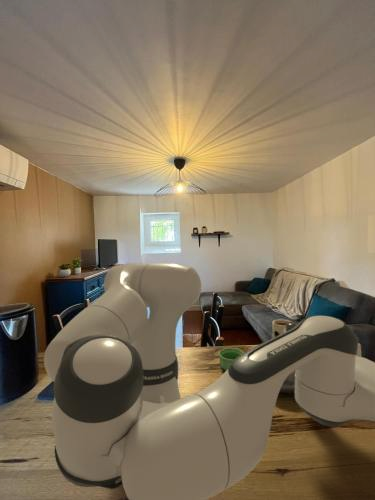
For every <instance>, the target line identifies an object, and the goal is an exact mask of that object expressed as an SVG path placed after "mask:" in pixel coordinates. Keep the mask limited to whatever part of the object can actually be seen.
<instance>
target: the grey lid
mask: <svg viewBox="0 0 375 500" xmlns="http://www.w3.org/2000/svg"><path fill="white" fill-rule="evenodd" d="M279 393H285V394H286V393H287V394H289V393H295V371H294V372H292V373H291V374H289V375H288V377H287V378H286V379H285V381H284V382H283V384H282V386H281V389H280V391H279Z"/></svg>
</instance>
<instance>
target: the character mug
mask: <svg viewBox="0 0 375 500" xmlns="http://www.w3.org/2000/svg"><path fill="white" fill-rule="evenodd" d="M286 322H292V321H291V320H288V319H279V318H278V319H274V320H272V323H271V324H272V326H271V327H272V338H274V337H276V336H278V335H280V334H282V333H283V329H285V328H286Z"/></svg>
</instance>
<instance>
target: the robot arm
mask: <svg viewBox="0 0 375 500" xmlns="http://www.w3.org/2000/svg"><path fill="white" fill-rule="evenodd" d="M103 289H104V293H102V295H100V296H98V298H97V299H95V300H94V301H93V302H92V303H90V304H89V305H88V306H87V307H85V308H84V309H82V310H81V311H80V312H78V314H76V315H75V316H74V317H73V318H72V319H71V320H70V321H69V322H68V323H67V324H65V326H64V327H63V328H62V329H60V331H59V332H58V333H57V334H56V335H55V337H54V338H53V339H52V340H51V341H50V343H49V344H48V345H47V347H46V350H45V353H44V355H43V363H44V365H43V366H44V369H45V371H46V373H47V375H48V377H49V378H50V379H51V380H52V382H53V397H54V398H53V404H52V413H51V430H52V434H53V441H54V458H55V461H56V464H57V467H58V469H59V472H60V473H61V475H62V476H63V477H64V478H65V480H67V481H68V482H69V483H71V484H73V485H75V486H78V487H84V488H94V487H95V488H96V487H100V488H104V489H109V490H110V489H111V490H115V489H118V488H119V487H121V486H123V489H124V492H125V494H126V497H127V499H128V500H209V499H210V498H212V497H214V496H216V495H218V494H220V493H222V492H223V491H226V490H227V489H229V488H230V487H233V486H234V485H236V484H238V483H239V482H241V481H243V479H244V478H246V477H247V476H248V475H249V474H250V473H251V472H252V471H253V470H254V469H255V467H256V466H257V465H258V464H259V462H260V461H261V460H262V458H263V456H264V454H265V452H266V448H267V445H268V442H269V436H270V432H271V427H272V426H271V425H272V421H273V416H274V413H275V412H274V411H275V407H276V403H277V400H278V396H279V393H280V392H279V391H280V389H281V386H282V384H283V382H284V381H285V379H286V378H287V377H288V375H289V374H291V373H292V372H294V371H295V392H294V400H295V403H296V404H297V406H298V407H299V408H300V409H301V410H302V411H303V412H304V413H305V414H306V415H307V416H308V417H309V418H311V419H312V420H314V421H315V422H317V423H319V424H321V425H323V426H327V427H338V426H342V425H345V424H347V423H351V422H353V421H355V420H367V421H370V422H371V421H372V422H375V362H374V361H372V360H370V359H368V358H366V357H362V346H361V343H359V341H360V339H359V337H358V336H357V335H356V333H355V331H354V330H353V329H352V328H351V327H350V326H349V325H348V324H347V323H346V322H345V321H344V320H342V319H341V318H338V317H335V316H329V315H311V316H307V317H306V318H303V319H302V320H301V321H299V322H297V323H298V324H297V325H296V326H295V327H293V328H292V329H290V330H288V331H286V332H284V333H282V334H280V335H278V336H276V337H274V338H273V337H272V338H270V339H268V340H266V341H264V342H262V343H260V344H257V345H256V346H254V347H252V348H250V349H249V350H247V351H243V352H244V353H243V354H241V355H240V356H238V357H237V358H236V359H235V360H234V361H233V362H232V364H231V365H230V366H229V368H228V369H227V370H225V372H223V374H222V375H221V376H220V377H218V378H217V379H216V380H215V381H213V382H212V383H211V384H210V385H208V386H207V387H205V388H204V389H202V390H200V391H198V392H195V393H192V394H190V395H187V396H185V397H184V396H183V397H181V395H180V394H181V393H180V389H179V388H180V387H179V383H178V380H179V361H178V357H177V354H176V341H177V340H176V336H177V327H178V324H179V321H180V319H181V317H182V316H183V314H184V313H185V312H186V311H187V310H188V309H189V308H191V307H192V306H193V305H194V304H196V302H197V301H198V300H199V297H200V295H201V293H202V280H201V278H200V275H199V273H198V271H197V270H196V269H195V268H194V267H192V266H189V265H185V264H181V263H174V262H173V263H172V262H171V263H167V262H166V263H165V262H163V263H162V262H161V263H160V262H158V263H157V262H151V263H150V262H149V263H148V262H146V263H145V262H128V263H123V264H117V265H115V266H114V265H113V266H112V267H111V268H109V270H108V271H107V273H106V274H105V276H104V280H103ZM148 309H149V311H148ZM148 314H149V315H148ZM120 479H121V480H120ZM118 480H120V481H119V482H117V481H118ZM116 482H117V483H116Z"/></svg>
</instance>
